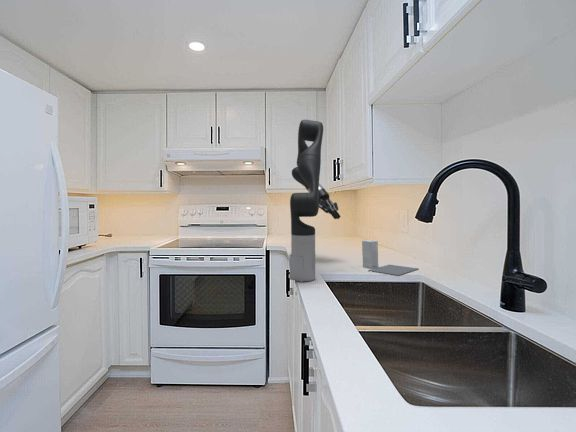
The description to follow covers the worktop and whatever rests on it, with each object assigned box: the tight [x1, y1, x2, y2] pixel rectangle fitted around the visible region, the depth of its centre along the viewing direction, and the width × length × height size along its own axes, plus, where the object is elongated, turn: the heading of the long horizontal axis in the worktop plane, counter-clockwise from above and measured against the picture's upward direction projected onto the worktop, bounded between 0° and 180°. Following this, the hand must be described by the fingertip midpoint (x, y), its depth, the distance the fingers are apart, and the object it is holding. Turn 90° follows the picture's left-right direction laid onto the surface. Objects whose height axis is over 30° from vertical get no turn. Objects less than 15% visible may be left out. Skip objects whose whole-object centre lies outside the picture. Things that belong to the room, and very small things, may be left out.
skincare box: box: [361, 239, 379, 269], centre depth 153 cm, size 6×4×12 cm
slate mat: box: [367, 264, 419, 277], centre depth 147 cm, size 18×14×1 cm
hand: (337, 217), depth 165 cm, fingers closed
